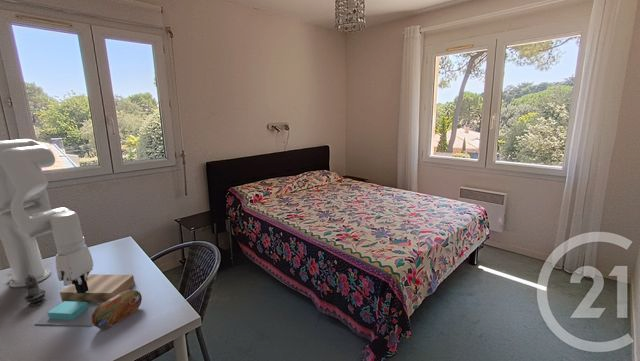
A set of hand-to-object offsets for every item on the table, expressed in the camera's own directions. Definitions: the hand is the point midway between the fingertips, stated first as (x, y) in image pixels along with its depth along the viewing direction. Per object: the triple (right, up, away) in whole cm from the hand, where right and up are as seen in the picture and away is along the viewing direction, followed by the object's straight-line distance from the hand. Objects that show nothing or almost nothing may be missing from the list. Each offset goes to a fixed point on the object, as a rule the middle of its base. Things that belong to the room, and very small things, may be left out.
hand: (82, 291), depth 106 cm
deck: (+1, -3, +8) cm, 8 cm away
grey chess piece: (-19, -5, +2) cm, 20 cm away
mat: (+2, -6, -5) cm, 8 cm away
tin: (+19, -7, -7) cm, 21 cm away
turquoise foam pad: (-1, -3, -5) cm, 6 cm away
